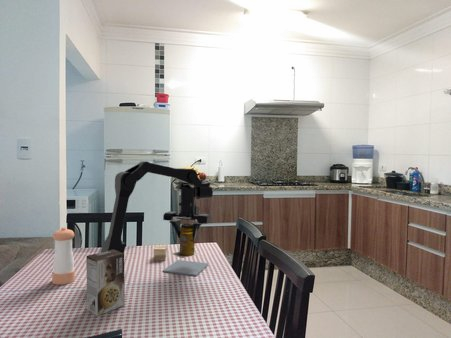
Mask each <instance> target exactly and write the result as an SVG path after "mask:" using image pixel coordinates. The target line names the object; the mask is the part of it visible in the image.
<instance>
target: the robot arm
mask: <svg viewBox="0 0 451 338" xmlns="http://www.w3.org/2000/svg"><path fill="white" fill-rule="evenodd" d="M148 173H149V174H155V175H158V176H164V177H168V178H173V179H174V180H177V182H178V181H179V182H178V184H177V185H176V186H175V189H177V190H180V196H179V198H180V199H179V201H180V202H178V205H179V213H178V211H171V210H170V211H167V212H164V213H163V215H162V219H163V221H169V223H170V224H171V225H172V226H173V227H172V228H173V229H174V230H175V233H176V236H177V238H178V239H180V231H181V225H182V224H181V223H182V220H186V221H187V220H188V221H189V220H190V221H195V222H193V223H192V224H193V239H196V237H197V236H198V232H199V229H200V227H201V226H202V225H203V224H209V223H210V222H212V215H211V214H209V213H208V214H207V213H201V214H200V207H199V206H197V203H196V201H195V199H196V200H207V199H212V197H213V195H214V194H213V193H214V191H213V188H212V186H211V182H207V181H206V182H202V180H201V179H200V178H199V176H198V173H197V170H195V169H193V168H182V167H181V168H180V167H179V168H178V167H175V168H174V167H170V166H165V165H161V164H157V163H152V162H149V161H147V160H146V161H140V162H139V163H137V164H135V165H134V166H132V167H129V168H128V169H127V170H125V171H119V172H118V173H117V174H115V177H114V192H115V201H114V205H113V210H112V214H111V220H110V225H109V231H108V235H107V237H106V238H105V240H104V241H103V244H102V246H101V249H100V252H104V251H109V250H117V251H119V252H121V253H124V254H125V249H126V246H127V245H126V243H125V242H124V241H123V240H122V235H123V229H124V226H125V221H126V220H125V219H126V214H127V209H128V204H129V199H130V196H131V195H132V194H133V192H134V190H135V187H136V185H137V182H138V181H140V180H141V179H143V177H144V176H145V175H146V174H148ZM183 183H186V184H183Z"/></svg>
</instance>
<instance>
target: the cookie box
mask: <svg viewBox="0 0 451 338" xmlns="http://www.w3.org/2000/svg"><path fill="white" fill-rule="evenodd" d="M125 288H126V287H125V252H124V253H121V252H119V251H117V250H109V251H104V252H101V251H99V252H97V253H93V254H89V255H88V254H87V255H86V310H88V311H89V312H90V313H93V314H94V315H95V316H101V315H103V314H106V313H108V312H110V311H113V310H116V309H119V308H121V307H123V306H125V300H126V299H125V295H126V294H125Z"/></svg>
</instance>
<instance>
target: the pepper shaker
mask: <svg viewBox="0 0 451 338" xmlns="http://www.w3.org/2000/svg"><path fill="white" fill-rule="evenodd" d="M52 238H53V240H54V256H53V261H52V264H53V267H52V268H53V271H52V274H51V278H52V279H51V282H52V284H53V285H67V284H71V283H73V282H74V281H75V280H76V276H75V275H76V272H75V271H76V269H75V268H74V267H75V265H74V264H75V262H74V261H75V259H74V253H73V239H74V238H75V232H74V231H73V230H72V229H69V228H66V227H61V228H60V229H57V230H55V231H54V232H53V234H52Z"/></svg>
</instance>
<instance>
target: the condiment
mask: <svg viewBox="0 0 451 338" xmlns="http://www.w3.org/2000/svg"><path fill="white" fill-rule="evenodd" d="M180 226H181V231H180V238H179V251H177V252H172V253H171V255H173V256H174V257H178V258H181V259H185V258H189V257H193V256H197V255H199V253H197V252H195V249H196V247H195V245H196V244H195V241H196V240H195V239H196V238H195V239H193V223H182V224H180Z"/></svg>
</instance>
